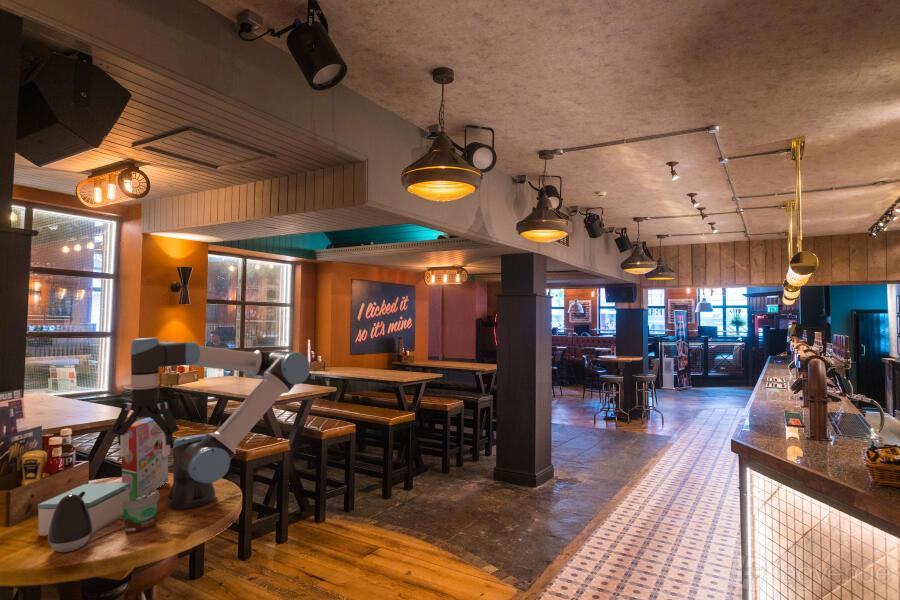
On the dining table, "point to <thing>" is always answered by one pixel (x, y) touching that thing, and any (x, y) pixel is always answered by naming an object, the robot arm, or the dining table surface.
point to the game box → (144, 458)
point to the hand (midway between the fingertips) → (145, 455)
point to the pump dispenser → (70, 524)
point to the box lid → (88, 493)
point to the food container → (141, 512)
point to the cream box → (91, 512)
